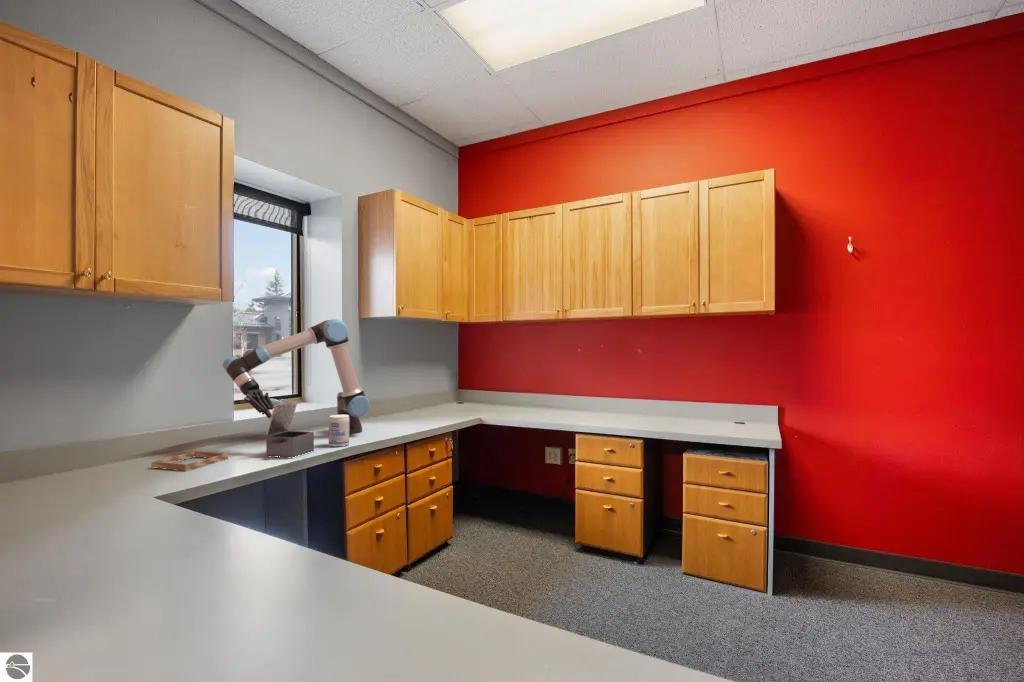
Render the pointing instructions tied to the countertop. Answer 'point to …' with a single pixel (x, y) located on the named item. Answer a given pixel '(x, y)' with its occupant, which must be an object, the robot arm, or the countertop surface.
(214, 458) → the corral
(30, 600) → the countertop surface
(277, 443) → the dark grey storage box
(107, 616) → the countertop surface
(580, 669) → the countertop surface
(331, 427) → the supplement tub
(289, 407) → the lid
